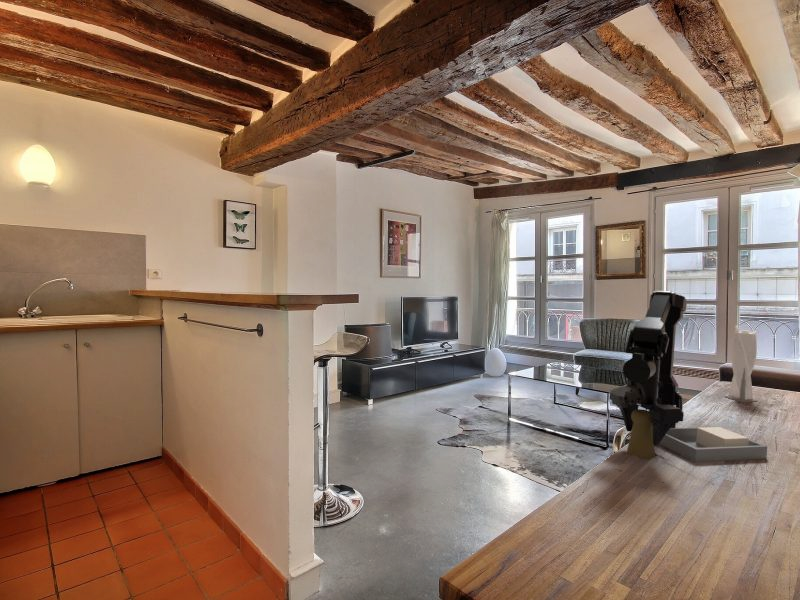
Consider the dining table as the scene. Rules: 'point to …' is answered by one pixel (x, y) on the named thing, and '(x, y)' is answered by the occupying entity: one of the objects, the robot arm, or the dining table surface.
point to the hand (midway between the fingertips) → (641, 437)
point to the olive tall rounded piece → (641, 435)
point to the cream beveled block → (719, 437)
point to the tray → (687, 447)
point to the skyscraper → (743, 365)
